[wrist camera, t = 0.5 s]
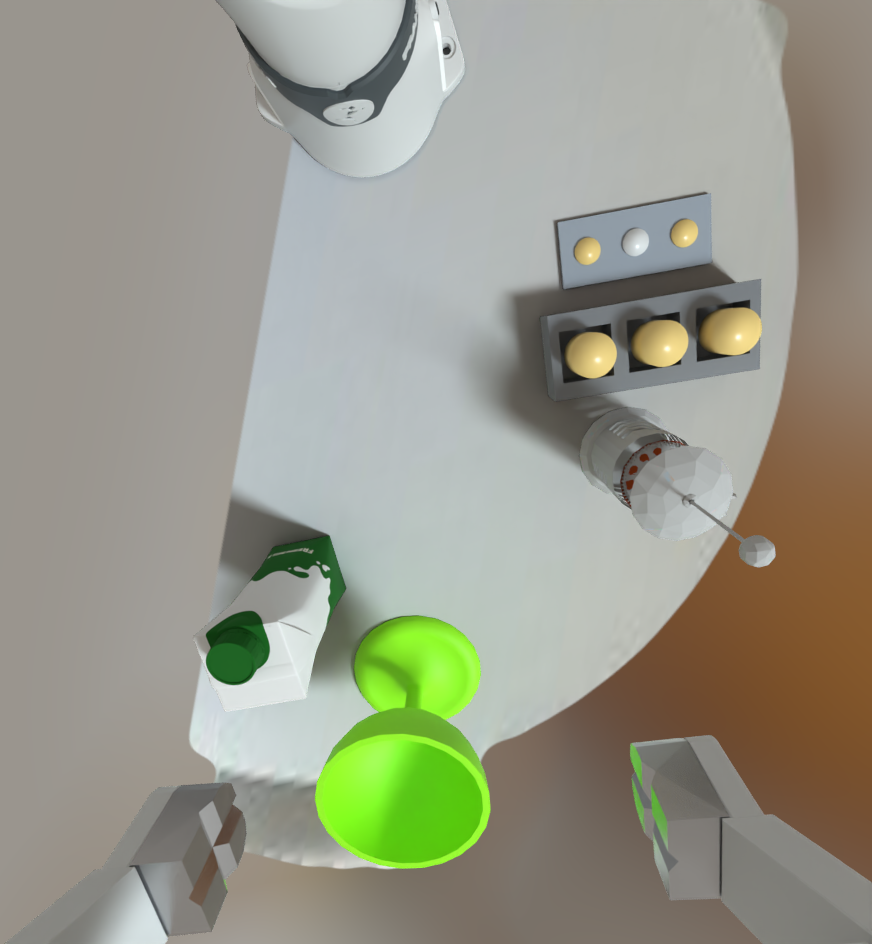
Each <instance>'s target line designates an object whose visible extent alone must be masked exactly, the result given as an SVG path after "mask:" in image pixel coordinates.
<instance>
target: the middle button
mask: <svg viewBox="0 0 872 944" xmlns="http://www.w3.org/2000/svg"><path fill="white" fill-rule="evenodd" d="M630 347H631V352H632V354H633V356H634V357H635V358H636V359H637V360H638V361H639V362H641V363H644V364H648V365H653V366H658V367H667V366H670V365H673V364H675V363H676V362H678V361H679V360H680V359H681V358H682V357H683V355H684V354H685V352H686V350H687V347H688V334H687V332H686V330H685V328H684V327H683V326H682V325H681V324H680V323H678V322H676V321H672V320H653V321H648V322H645V323H643V324H642V325H640V326H639V327H638V328H637V329H636V330H635V332H634V334H633V336H632V338H631V343H630Z"/></svg>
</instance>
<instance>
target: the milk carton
mask: <svg viewBox="0 0 872 944" xmlns="http://www.w3.org/2000/svg"><path fill="white" fill-rule="evenodd" d="M345 590H346V586H345V583H344V580H343V577H342V574H341V571H340V567H339V564H338V561H337V558H336V555H335V551H334V548H333V545H332V542H331V539H330V536H325V537H320V538H315V539H310V540H305V541H300V542H295V543H290V544H285V545H280V546H275V547H273V548H272V550H271V552H270V553H269V555H268V556H267V558H266V559H265V561H264V563H263V564H262V566H261V567H260V569H259V570H258V571H257V572H256V574H255V575H254V576H253V577H252V579H251V580H250V581H249V582H248V584H247V585H246V586H245V587H244V589H243V590H242V591H241V592H240V594H239V595H238V596H237V597H236V599H235V600H234V601H233V602H232V604H231V605H230V606H229V607H228V608H226V609H225V610H224V611H223V612H222V613H221V614H219V615H218V616H217V617H216V618H215V619H213V620H212V621H211V622H210V623H208V624H207V625H206V626H205V627H204V628H202V629H201V630H200V631H199V632H198V633H196V634H195V635H194V637H193V639H194V642H195V644H196V647H197V649H198V652H199V654H200V657H201V659H202V662H203V664H204V667H205V669H206V672H207V674H208V676H209V681H210V683H211V686H212V688H213V689H215V690H216V692H217V695H218V697H219V699H220V702H221V704H222V706H223V709H224V711H225V712H228V711H234V710H240V709H246V708H252V707H258V706H264V705H270V704H276V703H282V702H287V701H293V700H299V699H305V698H306V696H307V691H308V686H309V682H310V677H311V672H312V667H313V663H314V658H315V654H316V650H317V648H318V645H319V643H320V641H321V638H322V636H323V633H324V631H325V629H326V626H327V624H328V622H329V619H330V617H331V615H332V612H333V610H334V608H335V606H336V605H337V603H338V601H339V600H340V598H341V596H342V595H343V593H344V592H345Z"/></svg>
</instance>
